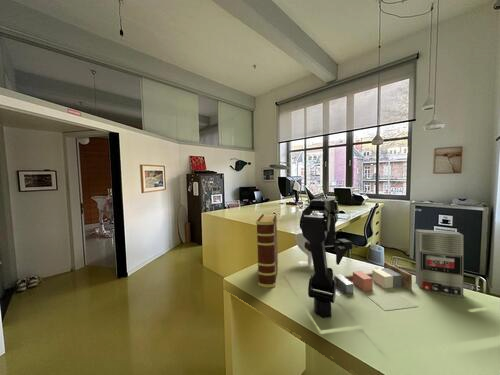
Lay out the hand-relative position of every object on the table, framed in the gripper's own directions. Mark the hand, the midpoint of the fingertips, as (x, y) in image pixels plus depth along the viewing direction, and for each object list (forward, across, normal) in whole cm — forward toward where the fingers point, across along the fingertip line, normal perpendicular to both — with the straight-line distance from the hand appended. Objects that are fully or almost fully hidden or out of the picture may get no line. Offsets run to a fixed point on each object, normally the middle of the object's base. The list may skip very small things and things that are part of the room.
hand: (328, 265), depth 85 cm
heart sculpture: (+12, -4, -29) cm, 32 cm away
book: (+11, -29, 0) cm, 31 cm away
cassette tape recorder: (+12, -44, +7) cm, 46 cm away
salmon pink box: (+11, -15, 0) cm, 19 cm away
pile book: (+12, -18, +12) cm, 25 cm away
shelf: (+12, -17, 0) cm, 21 cm away
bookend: (+11, -5, 0) cm, 12 cm away
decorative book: (+12, +22, -20) cm, 32 cm away
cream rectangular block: (+11, -25, 0) cm, 27 cm away
